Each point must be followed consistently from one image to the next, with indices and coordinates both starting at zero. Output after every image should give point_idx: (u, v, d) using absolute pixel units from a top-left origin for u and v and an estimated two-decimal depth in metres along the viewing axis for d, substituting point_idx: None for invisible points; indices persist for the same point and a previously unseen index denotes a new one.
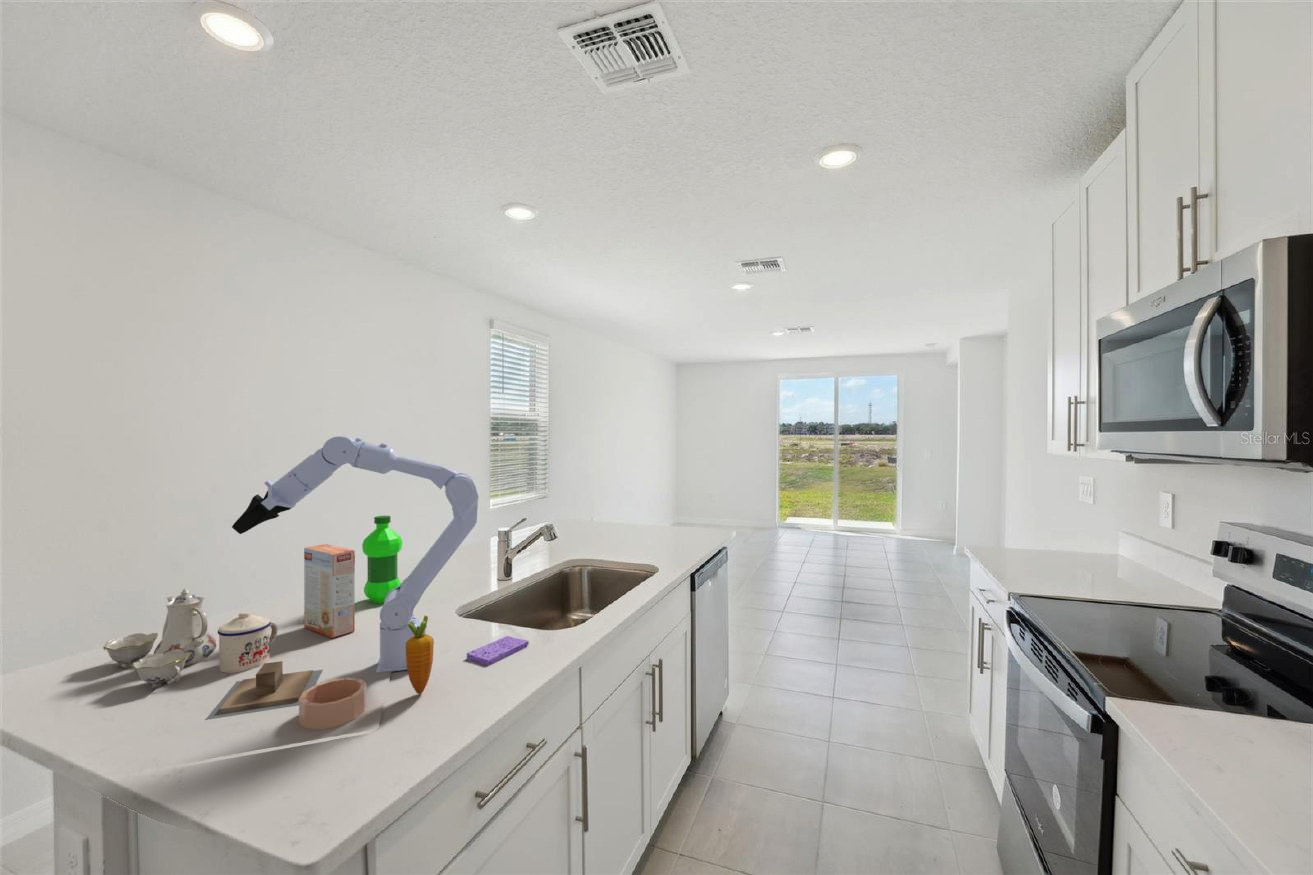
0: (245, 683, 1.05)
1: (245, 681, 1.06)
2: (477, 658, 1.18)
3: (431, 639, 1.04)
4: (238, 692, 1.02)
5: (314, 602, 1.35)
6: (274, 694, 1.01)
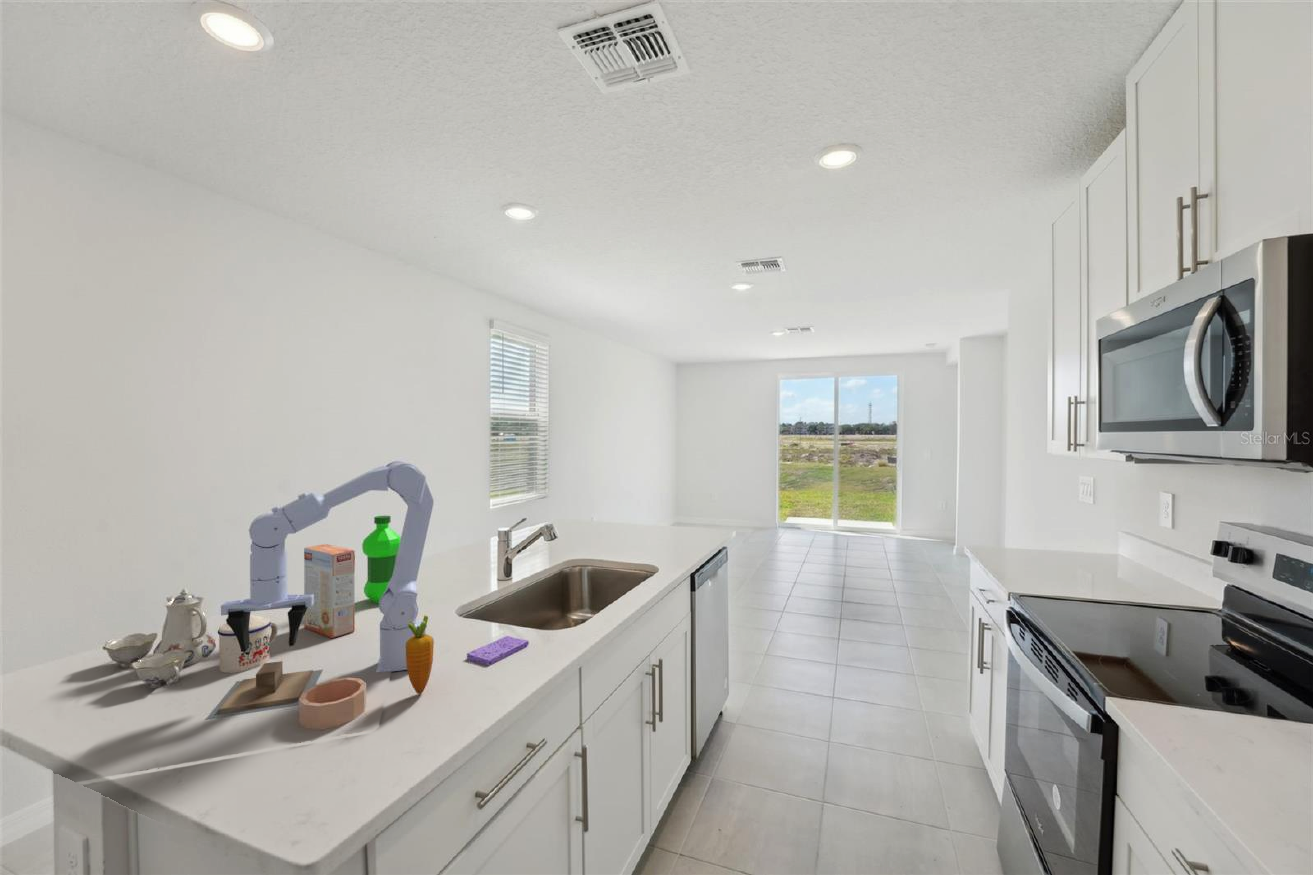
0: (245, 683, 1.05)
1: (245, 681, 1.06)
2: (477, 658, 1.18)
3: (431, 639, 1.04)
4: (238, 692, 1.02)
5: (314, 602, 1.35)
6: (274, 694, 1.01)
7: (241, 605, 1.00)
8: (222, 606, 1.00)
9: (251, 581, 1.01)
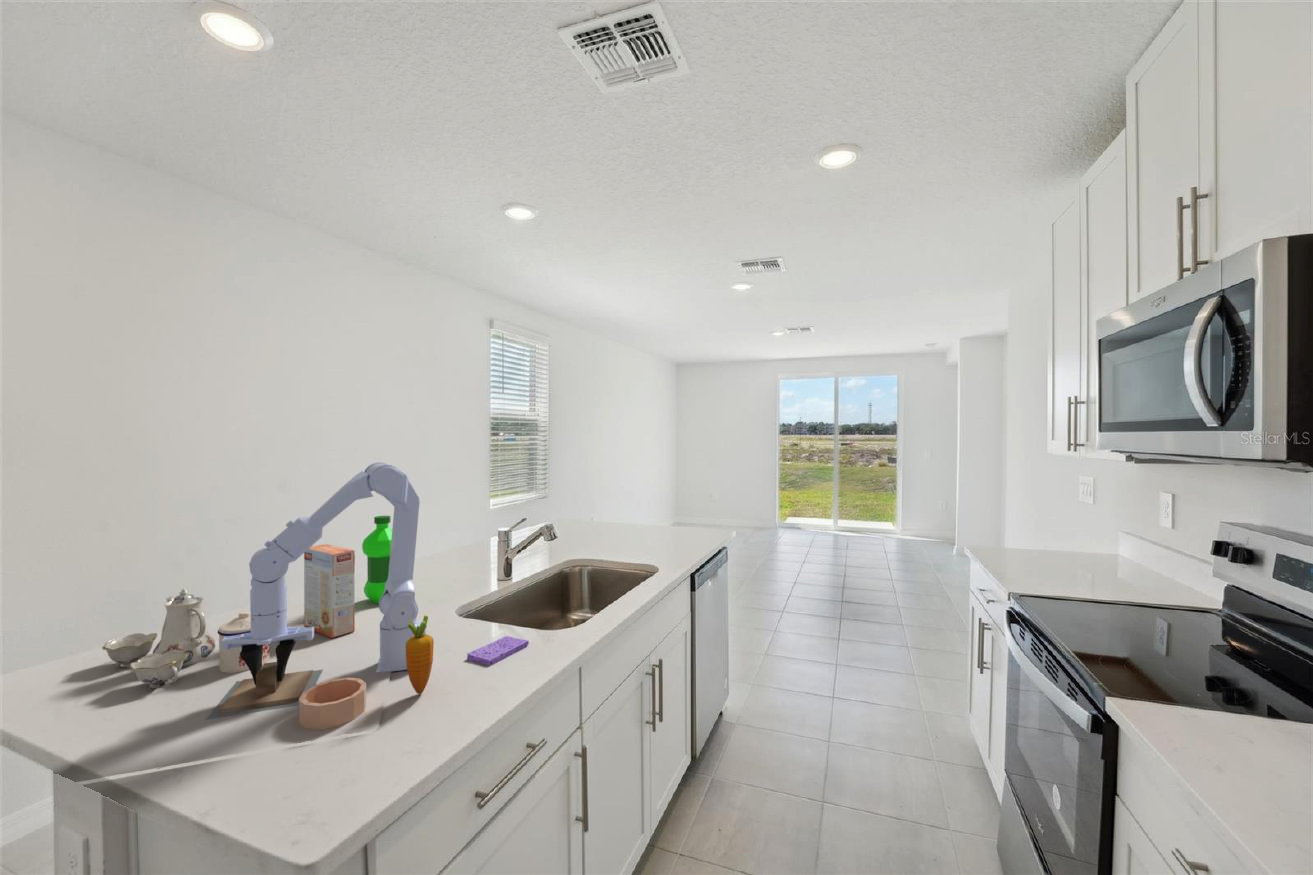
0: (245, 683, 1.05)
1: (245, 681, 1.06)
2: (478, 658, 1.18)
3: (431, 639, 1.04)
4: (238, 692, 1.02)
5: (314, 602, 1.35)
6: (274, 694, 1.01)
7: (241, 640, 1.00)
8: (222, 641, 1.00)
9: (251, 616, 1.01)
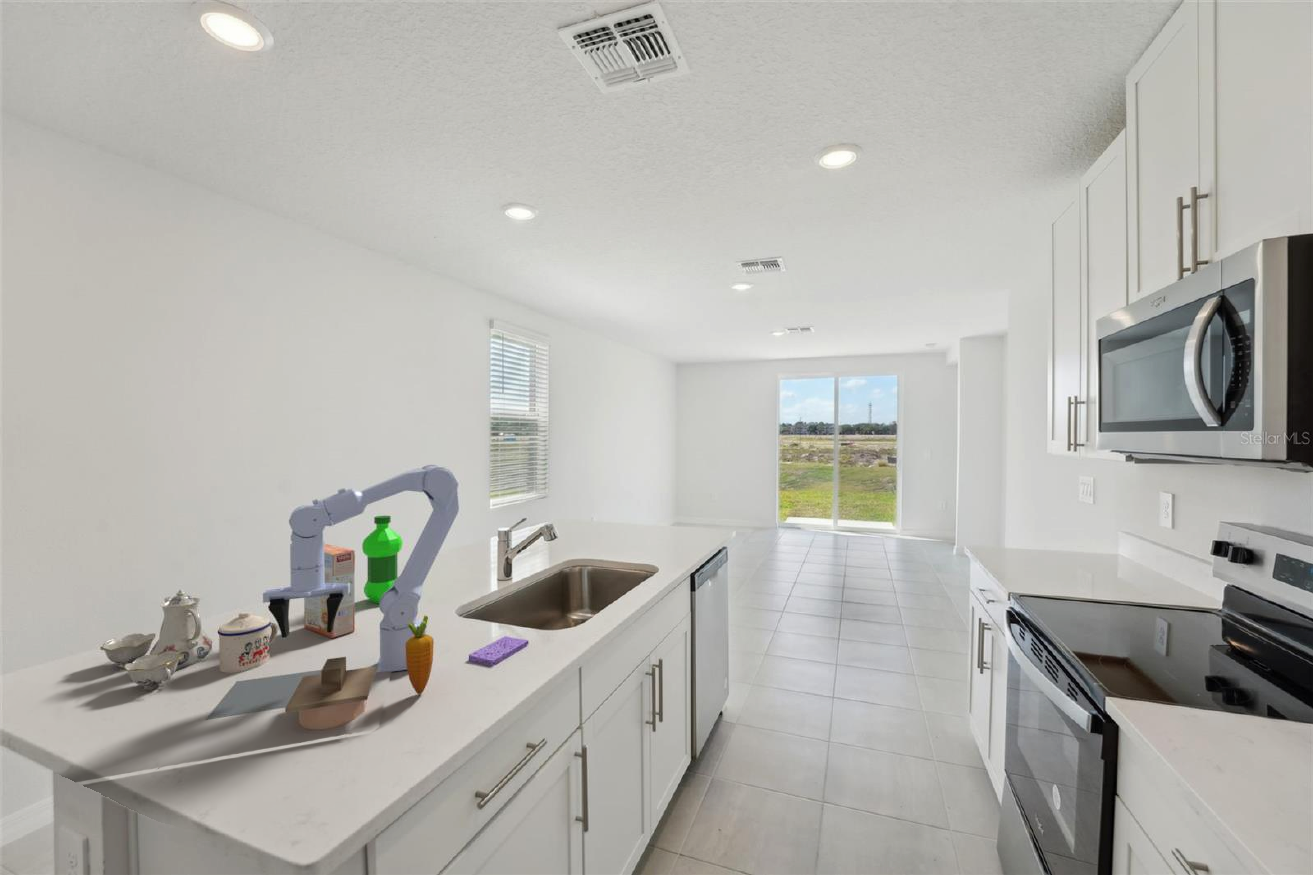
0: (307, 680, 0.98)
1: (306, 678, 0.99)
2: (480, 659, 1.18)
3: (431, 639, 1.04)
4: (301, 690, 0.95)
5: (314, 602, 1.35)
6: (341, 692, 0.94)
7: (282, 593, 1.04)
8: (264, 594, 1.04)
9: (291, 570, 1.05)
